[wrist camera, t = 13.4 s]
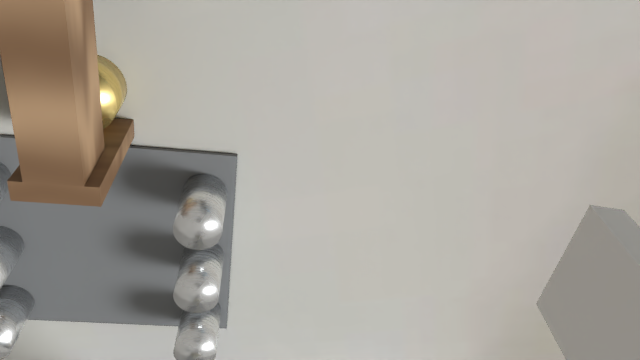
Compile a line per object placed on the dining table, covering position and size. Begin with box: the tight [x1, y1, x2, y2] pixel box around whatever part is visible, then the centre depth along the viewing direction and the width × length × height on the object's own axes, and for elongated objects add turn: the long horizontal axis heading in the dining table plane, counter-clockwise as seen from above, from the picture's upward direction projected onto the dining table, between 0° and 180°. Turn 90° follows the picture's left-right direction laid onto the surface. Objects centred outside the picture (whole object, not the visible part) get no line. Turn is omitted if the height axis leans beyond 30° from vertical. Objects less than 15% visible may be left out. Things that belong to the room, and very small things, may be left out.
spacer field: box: [0, 162, 227, 360], centre depth 39 cm, size 14×17×4 cm
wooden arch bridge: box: [0, 0, 134, 207], centre depth 28 cm, size 16×4×8 cm, turn 173°
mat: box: [0, 135, 237, 328], centre depth 40 cm, size 16×18×1 cm
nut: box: [97, 55, 127, 129], centre depth 33 cm, size 4×4×3 cm
